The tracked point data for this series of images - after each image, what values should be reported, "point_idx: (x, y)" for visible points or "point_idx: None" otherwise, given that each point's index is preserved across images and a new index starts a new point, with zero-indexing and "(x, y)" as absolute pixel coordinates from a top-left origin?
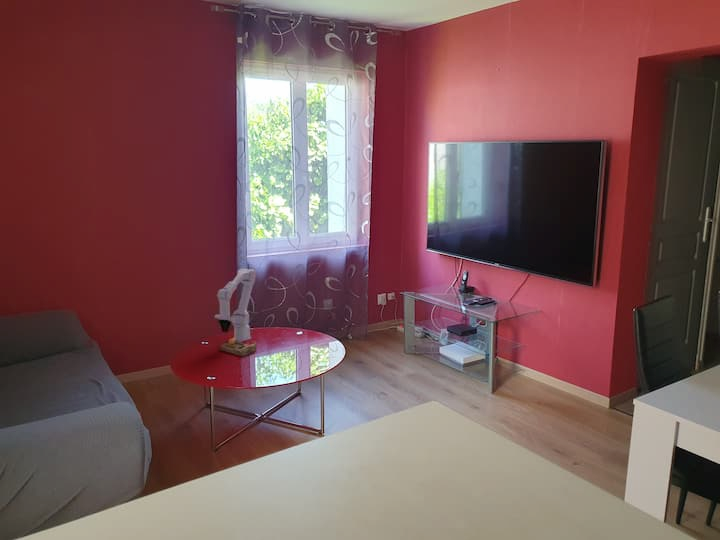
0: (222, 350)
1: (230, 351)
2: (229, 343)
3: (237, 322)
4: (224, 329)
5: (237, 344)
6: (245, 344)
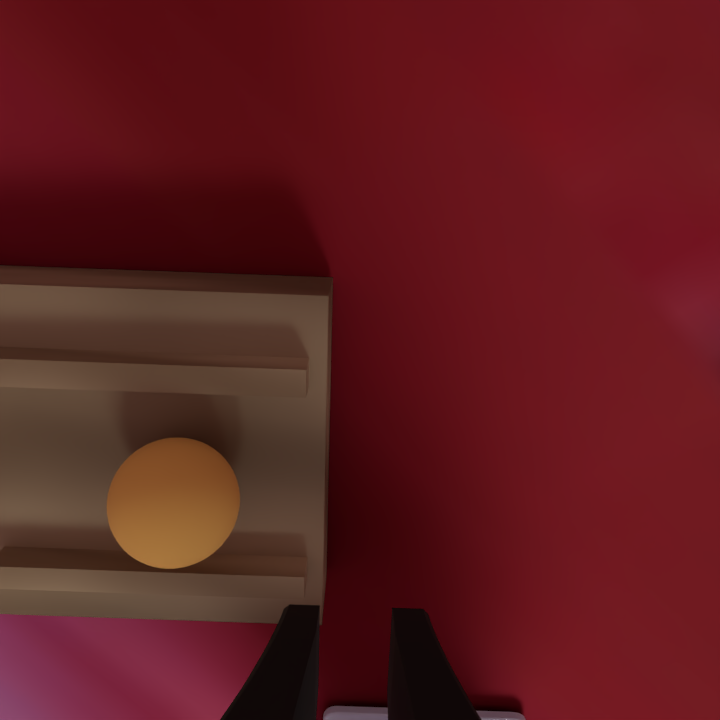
0: (268, 275)
1: (50, 273)
2: (185, 439)
3: None
4: (302, 664)
5: None
6: (11, 601)
